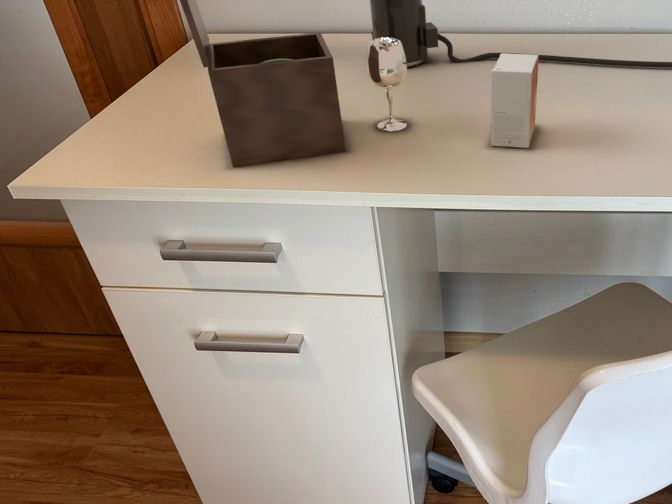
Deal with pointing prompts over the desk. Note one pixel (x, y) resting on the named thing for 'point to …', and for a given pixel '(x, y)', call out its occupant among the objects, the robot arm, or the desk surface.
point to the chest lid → (197, 30)
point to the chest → (276, 98)
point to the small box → (513, 100)
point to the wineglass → (387, 73)
